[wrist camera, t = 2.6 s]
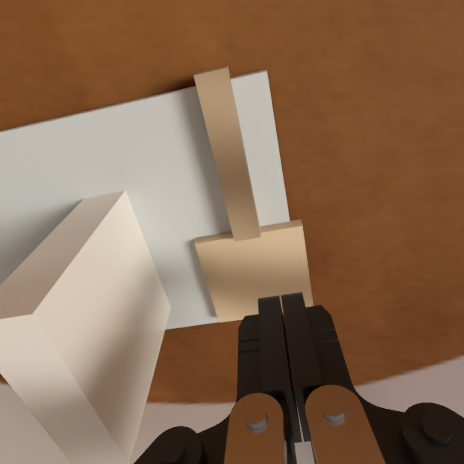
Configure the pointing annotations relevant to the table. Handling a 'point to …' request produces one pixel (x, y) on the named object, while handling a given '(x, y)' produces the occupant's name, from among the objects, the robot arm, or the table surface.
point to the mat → (141, 180)
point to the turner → (243, 220)
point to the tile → (86, 330)
